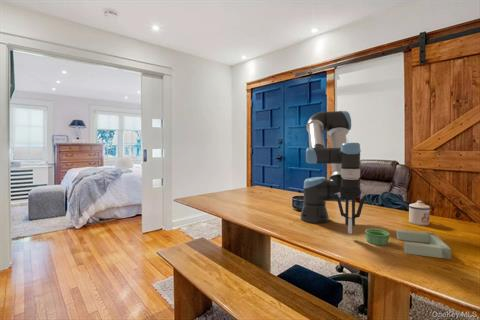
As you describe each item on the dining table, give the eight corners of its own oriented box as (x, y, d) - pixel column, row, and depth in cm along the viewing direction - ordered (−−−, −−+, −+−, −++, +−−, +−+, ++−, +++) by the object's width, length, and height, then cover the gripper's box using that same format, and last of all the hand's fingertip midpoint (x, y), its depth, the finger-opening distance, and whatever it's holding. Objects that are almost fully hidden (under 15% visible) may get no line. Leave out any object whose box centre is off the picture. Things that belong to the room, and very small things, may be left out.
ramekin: (389, 248, 99) (389, 237, 99) (364, 243, 104) (364, 233, 103) (389, 240, 106) (389, 230, 106) (366, 237, 111) (366, 227, 111)
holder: (405, 253, 93) (405, 244, 93) (396, 237, 110) (396, 229, 110) (450, 259, 88) (451, 249, 88) (433, 241, 105) (434, 233, 105)
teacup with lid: (425, 226, 124) (425, 203, 123) (405, 222, 131) (405, 200, 131) (435, 222, 130) (436, 200, 130) (415, 218, 138) (416, 197, 137)
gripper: (333, 178, 107) (333, 233, 108) (368, 180, 102) (367, 237, 103) (334, 177, 114) (334, 228, 115) (366, 178, 109) (366, 231, 110)
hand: (350, 232), depth 109 cm, fingers closed
